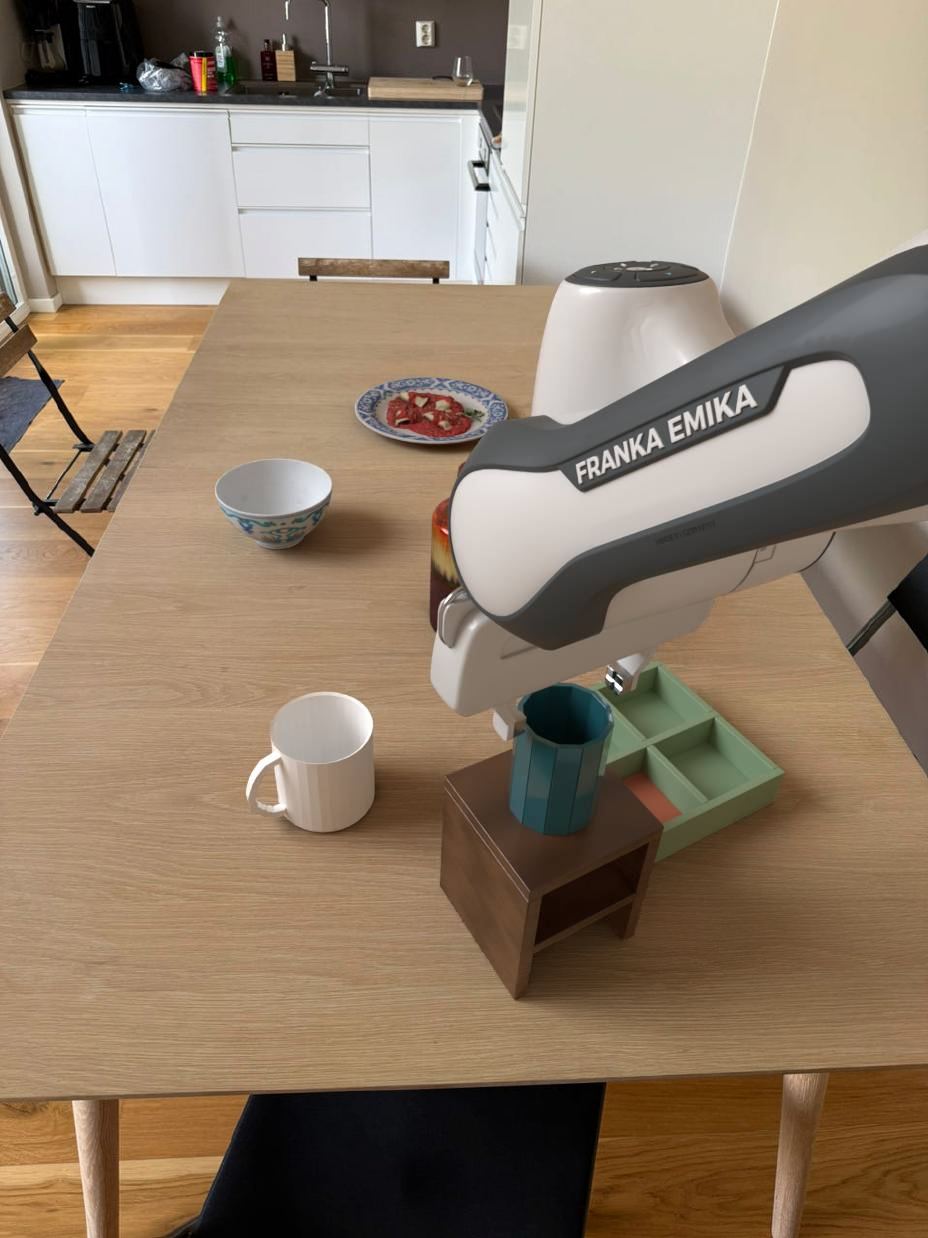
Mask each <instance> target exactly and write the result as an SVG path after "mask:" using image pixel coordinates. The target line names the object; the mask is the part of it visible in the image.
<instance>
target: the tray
mask: <svg viewBox="0 0 928 1238" xmlns="http://www.w3.org/2000/svg"><path fill="white" fill-rule="evenodd" d="M586 688H587V689H590V690H592V691H595V692H596V693H597V694H598V695H599V696H600V697H601V698H602V699H603V700H604V701H605V702H606V703H607V704H608V705H609V706H610V707H611V710H612V715H613V720H614V728H613V733H612V738H611V742H610V747H609V752H608V757H607V762H606V764H607V765H608V766H609V767H610V768H611V770H612V771H613V772H614V773H615V774H616V775H617V776H618V777H619V778H620V779H621V780H622V781H623V782H624V783H625V785H626V786H627V787H628V788H629V789H630V790H631V791H632V792H633V793H634V794H635V795H636V796H637V797H638V798H639V800H640V801H641V802H642V803H643V804H644V805H645V806H646V807H647V808H648V809H649V810H650V811H651V812H652V813H653V815H654V816H655V817H656V818H657V819H658V820H659V821H660V822H661V823H662V824H663V825H664V829H663V833H662V836H661V840H660V844H659V848H658V851H657V855H656V858H655V862H654V864H656V863H658V862H660V861H662V860H663V859H666V858H668V857H670V856H672V855H673V854H675V853H678V852H679V851H681V850H683V849H686V848H687V847H689V846H692V845H694V844H695V843H697V842H699V841H701V840H703V839H705V838H706V837H709V836H711V835H713V834H715V833H716V832H718V831H721V830H723V829H724V828H726V827H729V826H731V825H733V824H734V823H736V822H738V821H740V820H742V819H744V818H746V817H748V816H750V815H751V814H754V813H756V812H757V811H760V810H761V809H764V808H765V807H767V806H770V805H771V804H773V803H774V802H775V799H776V796H777V795H778V791H779V789H780V788H781V787H780V786H781V784H782V781H783V779H784V776H785V774H786V772H785V771H784V770H783V769H782V768H781V767H779V766H778V765H777V764H776V763H775V762H774V761H773V760H772V759H771V758H770V757H768V756H767V755H766V754H765V753H764V752H763V751H761V750H760V749H759V748H758V747H757V746H756V745H754V743H753V742H751V741H750V740H749V739H748V738H747V737H746V736H745V735H744V734H742V733H741V732H740V731H739V730H738V729H737V728H736V727H734V726H733V724H731V723H730V722H729V721H727V720H726V719H725V718H724V717H723V716H722V715H721V714H720V713H718V711H717V710H715V709H714V708H713V707H712V706H711V705H710V704H708V702H706V701H705V700H704V699H703V698H702V697H700V695H698V694H697V693H696V692H695V691H694V690H693V689H692V688H690V687H689V686H688V685H687V684H686V683H685V682H684V681H683V680H681V678H680V677H678V676H677V675H676V674H675V673H674V672H672V671H671V670H670V668H668V667H667V666H666V665H665V664H663V662H661V661H660V660H654V661H652V662H649V663H648V664H647V666H646V667H645V668H644V669H643V671H642V672H641V673H639V677H638V681H637V686H636V689H635V690H633V691H630V692H628V693H625V694H622V695H619V696H616V695H615V694H614V693H613V690H611V689H609V688H608V687H607V685H606V683H605V680H603V681H601V682H597V683H595V684H593V685H591V686H588V687H586ZM512 740H513V741H514V738H512ZM513 741H512V742H513Z"/></svg>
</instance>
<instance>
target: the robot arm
mask: <svg viewBox="0 0 928 1238" xmlns="http://www.w3.org/2000/svg"><path fill="white" fill-rule="evenodd" d="M535 373H536V374H535V380H534V388H533V396H532V403H531V411H530V416H525V417H517V418H510V419H508V418H507V420H501V421H498V422H496V423H494V424H493V425H492V426H491V427H490V428H489V429H488V431H487V432H486V433H485V434H484V435H483V437H481V438H479V441H478V442H477V443H476V445H475V446H474V447H473V449H472V451H471V452H470V454H469V455H468V457H467V459H466V460H465V461H466V462H465V461H464V462H465V464H464V465H463V467H462V469H461V471H460V473H459V475H458V477H457V476H456V479H455V482H454V484H453V486H452V490H451V492H450V496H449V497H450V500H449V506H448V538H449V545H450V550H451V555H452V559H453V562H454V566H455V569H456V572H457V574H458V577H459V579H460V582H461V583H460V587H459V588H457V589H455V590H454V591H453V592H452V593H450V594H449V596H448V597H447V598H445V599H444V600H442V601H441V603H440V606H439V610H438V629H437V633H436V632H435V637H434V643H433V649H432V655H431V662H430V669H429V670H430V675H429V677H430V683H431V684H432V687H433V688H434V690H435V691H436V693H437V695H438V696H439V697H440V699H441V700H442V701H443V702H444V703H445V704H446V705H447V707H449V708H450V709H451V710H452V711H454V712H455V713H456V714H457V715H459V716H461V717H463V718H468V717H472V716H476V715H478V714H480V713H481V714H482V713H483V712H486V711H489V710H491V709H492V710H493V717H492V727H493V729H494V731H495V732H496V733H497V735H498V736H499V737H500V738H501V739H502V741H504V742H508V741H511V740H513V739H514V737H517V736H519V735H522V734H524V733H525V729H524V727H525V725H526V720H527V717H526V716H525V715H524V714H523V713H522V712H521V711H519V710H518V707H517V705H516V704H517V699H521V698H523V697H524V696H526V695H528V694H531V693H533V692H536V691H539V690H541V689H544V688H547V687H549V686H552V685H555V684H557V683H563V682H565V681H567V680H570V679H573V678H576V677H578V676H580V675H583V674H584V675H585V674H587V673H588V672H591V671H594V670H597V669H599V668H602V667H604V666H607V667H606V671H605V673H606V675H605V677H604V681H605V683H606V685H607V687H608V688H609V689H611V690H613V693H614V694H615V695H616V696H619V695H622V694H625V693H628V692H630V691H633V690H635V689H636V686H637V681H638V677H639V673H641V672H642V671H643V669H644V668H645V667H646V666H647V664H650V663H651V661H652V659H653V658H654V657H655V656H656V654H657V653H658V651H659V647H660V645H662V644H663V645H664V644H665V643H668V642H670V641H673V640H676V639H679V638H681V637H685V636H688V635H689V634H692V633H695V632H696V631H697V630H698V629H699V628H700V627H701V626H702V625H703V624H704V623H705V621H706V620H707V619H708V617H709V616H710V614H711V611H712V608H713V606H714V602H715V599H718V598H720V597H724V596H728V595H731V594H735V593H739V592H742V591H745V590H748V589H752V588H756V587H759V586H762V585H765V584H769V583H772V582H775V581H779V580H781V579H784V578H786V577H788V576H792V575H793V574H797V573H800V572H804V571H806V570H807V569H809V568H811V567H812V566H813V565H815V564H816V563H817V562H818V561H819V560H820V559H821V558H822V557H823V555H824V554H825V553H826V551H827V550H828V548H829V547H830V545H831V544H832V542H833V540H834V538H835V536H836V534H837V532H842V531H849V530H857V529H863V528H870V527H871V528H872V527H880V526H890V525H898V524H900V525H901V524H907V523H908V524H909V523H919V522H920V523H921V522H928V228H926V229H924V230H923V231H921V232H920V233H918V234H916V235H914V236H913V237H912V238H910V239H908V240H906V241H905V242H903V243H902V244H900V245H898V246H897V247H894V248H893V249H892V250H890V251H889V252H887V253H885V254H884V255H881V257H879V258H877V259H876V260H874V261H873V262H871V263H869V264H868V265H866V266H864V268H862V269H860V270H859V271H857V272H856V273H855V274H853V275H851V276H850V277H847V278H846V279H844V280H843V281H840V282H838V283H836V284H835V285H833V286H831V287H830V288H828V289H826V290H824V291H823V292H821V293H818V294H817V295H815V296H812V297H811V298H809V299H808V300H806V301H804V302H801V303H800V304H798V305H796V306H794V307H792V308H790V309H788V310H786V311H784V312H782V313H780V314H778V315H776V316H775V317H772V318H771V319H769V320H767V321H765V322H763V323H761V324H759V325H757V326H755V327H753V328H751V329H749V330H747V331H745V332H743V333H741V334H739V335H738V336H736V334H735V333H734V332H733V331H732V329H731V328H730V326H729V324H728V322H727V320H726V317H725V314H724V310H723V308H722V303H721V299H720V294H719V290H718V286H717V284H716V283H715V281H714V279H713V277H711V276H710V275H709V274H708V273H706V272H704V271H702V270H701V269H699V268H698V267H696V266H693V265H689V264H686V263H681V262H674V261H665V260H663V261H662V260H651V261H646V260H645V261H637V260H625V261H616V262H606V263H599V264H592V265H589V266H585V267H582V268H580V269H578V270H577V271H575V272H573V273H571V274H569V275H568V276H566V277H565V278H563V280H562V281H561V282H560V284H559V286H558V288H557V290H556V292H555V295H554V297H553V300H552V302H551V305H550V309H549V312H548V315H547V318H546V322H545V326H544V331H543V335H542V340H541V344H540V350H539V355H538V362H537V366H536V372H535Z"/></svg>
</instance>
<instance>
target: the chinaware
mask: <svg viewBox="0 0 928 1238" xmlns="http://www.w3.org/2000/svg"><path fill="white" fill-rule="evenodd" d="M333 487H334V485H333V480H332V477H331V476H330V475H329V473H328V472H327V471H326V470H324V469H323V468H322V467H319V466H318V465H316V464H313V463H311V462H307V461H303V460H299V459H293V458H266V459H259V460H253V461H249V462H245V463H243V464H239V465H237V466H235V467H233V468H231V469H229V470H227V471H226V472H224V474H222V475H221V476H220V477H219V478H218V480H217V481H216V483H215V486H214V494H215V498H216V500H217V503H218V505H219V508H220V510H221V512H222V513H223V515H224V516H225V518H226V519H227V521H228V522H229V523H230V524H231V526H233V527H234V528H235V529H236V530H237V531H238V532H240V533H241V534H242V535H244V536H246V537H248V538H250V539H252V540H254V541H255V543H256V544H257V545H259V546H261V547H263V548H266V549H269V550H270V549H271V550H283V549H289V548H292V547H294V546H296V545H298V544H300V543H301V542H302V541H303V539H304V538H305V536H307V535H308V534H310V532H312V531H313V530H314V529H315V528H316V527H317V526H318V525H319V524H320V523H321V521H322V520H323V518H324V517H325V515H326V512H327V511H328V508H329V506H330V503H331V499H332V493H333V489H334V488H333Z"/></svg>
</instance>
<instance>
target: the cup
mask: <svg viewBox="0 0 928 1238" xmlns="http://www.w3.org/2000/svg"><path fill="white" fill-rule="evenodd" d="M587 688H588V687H585V686H583V685H579V684H577V683H573V682H560V683H557V684H555V685H552V686H549V687H547V688H544V689H541V690H539V691H536V692H533V693H531V694H528V695H526V696H523V697H521V698H520V700H519V701H518V703H517V705H516V706H517V707H518V710H519V711H521V712H522V713H523V714H524V715H525V716H526V717H527V720H526V725H525V727H524V729H525V733H524V734H522V735H519V736H517V737H514V738H513V739H514V741H512V748H513V751H512V760H511V769H510V778H509V787H508V798H509V808H510V810H511V811H512V812H513V814H514V815H515V816H516V818H517V819H518V820H519V821H520V823H521V824H523V825H524V826H526V827H528V828H530V829H532V830H534V831H537V832H539V833H541V834H544V835H570V834H572V833H574V832H576V831H578V830H581V829H583V828H585V827H587V826H588V825H589V823H590V821H591V819H592V818H593V816H594V814H595V813H596V811H597V806H598V801H599V796H600V791H601V787H602V782H603V777H604V772H605V767H606V762H607V757H608V752H609V747H610V742H611V738H612V733H613V728H614V720H613V715H612V710H611V707H610V706H609V705H608V704H607V703H606V702H605V701H604V700H603V699H602V698H601V697H600V696H599V695H598V694H597V693H596V692H595V691H592V690H590V689H587Z"/></svg>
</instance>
